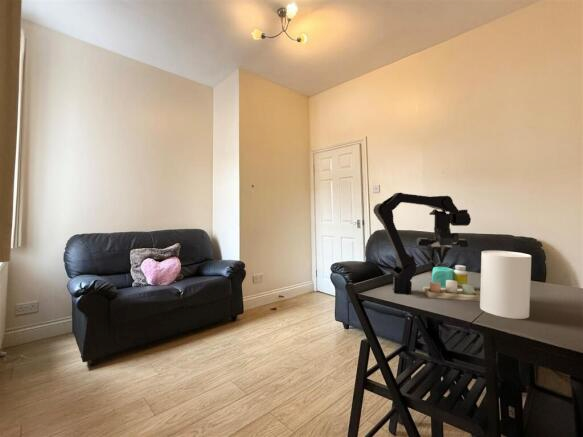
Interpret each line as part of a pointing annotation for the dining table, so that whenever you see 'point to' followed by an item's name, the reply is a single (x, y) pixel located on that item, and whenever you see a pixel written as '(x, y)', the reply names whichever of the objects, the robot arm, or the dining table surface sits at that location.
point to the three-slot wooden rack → (451, 294)
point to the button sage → (467, 289)
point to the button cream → (451, 286)
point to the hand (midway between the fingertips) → (441, 262)
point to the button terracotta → (435, 287)
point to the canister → (505, 283)
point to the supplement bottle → (460, 275)
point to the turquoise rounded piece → (442, 275)
